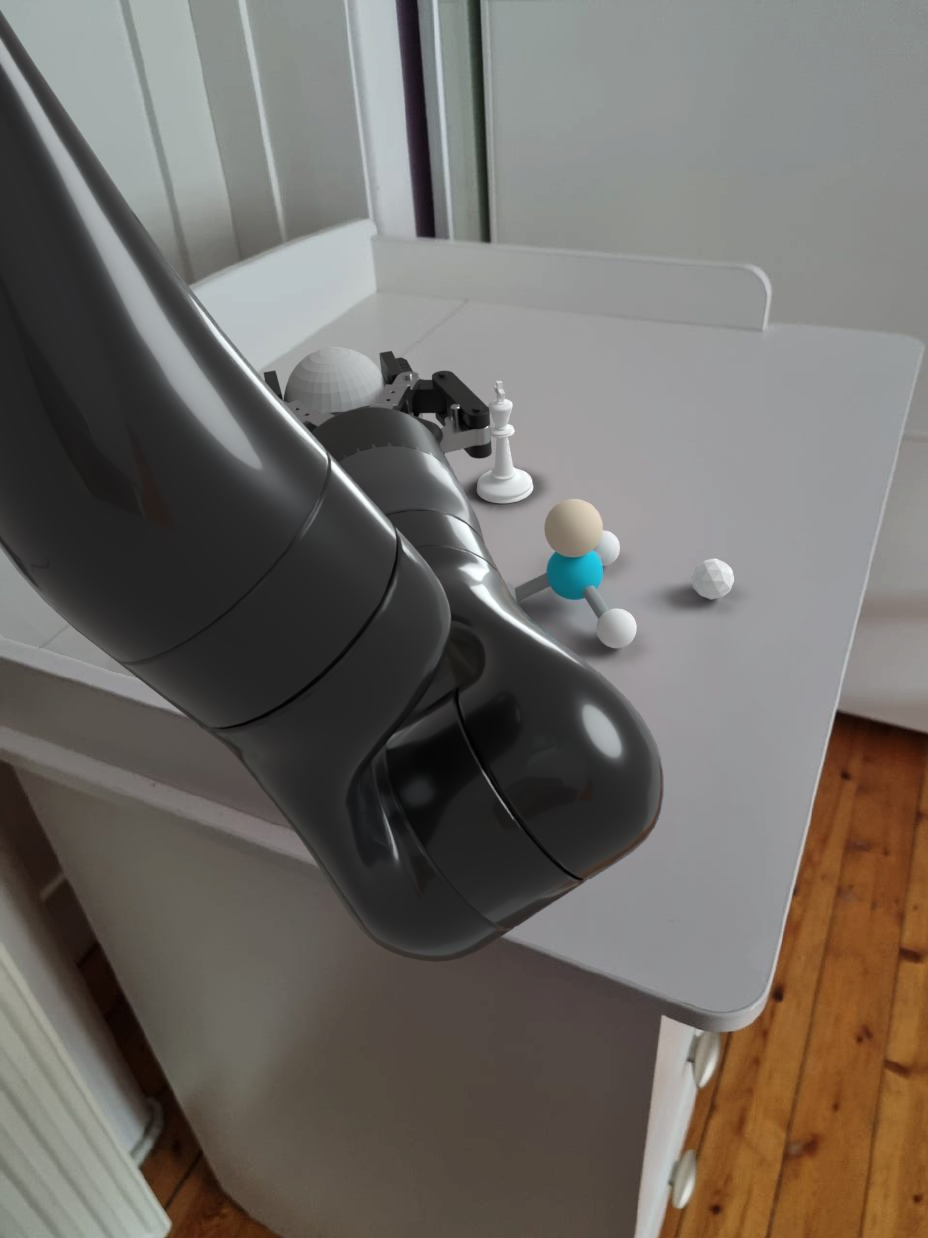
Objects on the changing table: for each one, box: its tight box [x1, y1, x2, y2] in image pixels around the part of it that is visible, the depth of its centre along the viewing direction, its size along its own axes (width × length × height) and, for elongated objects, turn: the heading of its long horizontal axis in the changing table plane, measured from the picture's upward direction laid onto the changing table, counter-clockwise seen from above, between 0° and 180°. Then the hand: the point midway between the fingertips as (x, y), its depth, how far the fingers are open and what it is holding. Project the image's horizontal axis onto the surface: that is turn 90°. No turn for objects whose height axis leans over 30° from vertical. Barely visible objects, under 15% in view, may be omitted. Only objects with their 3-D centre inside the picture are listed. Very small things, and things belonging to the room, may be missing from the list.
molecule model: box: [503, 498, 638, 649], centre depth 66 cm, size 12×12×9 cm
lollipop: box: [283, 346, 389, 413], centre depth 56 cm, size 6×6×15 cm
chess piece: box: [476, 380, 534, 504], centre depth 79 cm, size 5×5×10 cm
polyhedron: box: [691, 557, 735, 600], centre depth 68 cm, size 3×3×3 cm
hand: (329, 377), depth 54 cm, fingers closed on lollipop, 6 cm apart
